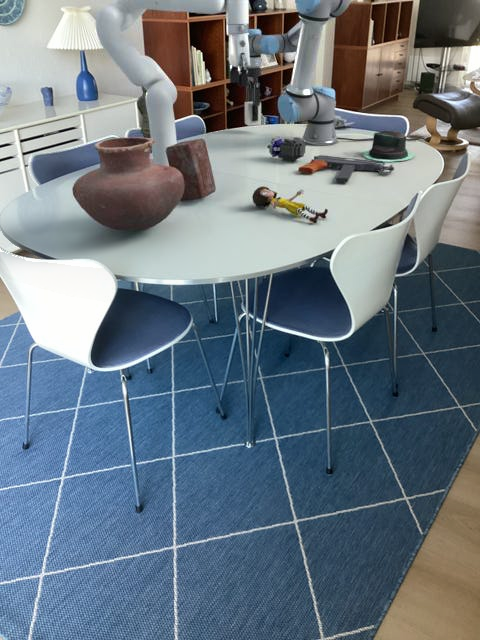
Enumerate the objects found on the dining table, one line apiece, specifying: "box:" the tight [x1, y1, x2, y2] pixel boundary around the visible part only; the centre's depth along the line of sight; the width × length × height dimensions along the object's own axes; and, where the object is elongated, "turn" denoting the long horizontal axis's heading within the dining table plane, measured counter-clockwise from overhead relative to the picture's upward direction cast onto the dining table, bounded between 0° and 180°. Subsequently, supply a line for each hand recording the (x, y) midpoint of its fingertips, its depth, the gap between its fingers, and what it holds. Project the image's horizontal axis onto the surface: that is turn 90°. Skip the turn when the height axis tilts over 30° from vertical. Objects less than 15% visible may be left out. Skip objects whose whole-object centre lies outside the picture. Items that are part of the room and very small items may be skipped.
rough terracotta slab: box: [166, 138, 217, 202], centre depth 188 cm, size 17×10×40 cm
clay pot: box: [72, 136, 185, 232], centre depth 155 cm, size 30×30×25 cm
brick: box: [244, 101, 262, 127], centre depth 266 cm, size 5×6×10 cm
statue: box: [136, 86, 152, 152], centre depth 237 cm, size 11×9×30 cm
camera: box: [334, 100, 355, 128], centre depth 275 cm, size 9×12×15 cm
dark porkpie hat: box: [362, 130, 414, 163], centre depth 226 cm, size 15×19×20 cm
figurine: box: [251, 185, 329, 224], centre depth 169 cm, size 13×8×25 cm
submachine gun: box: [298, 154, 395, 183], centre depth 205 cm, size 32×3×25 cm
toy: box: [266, 135, 306, 163], centre depth 223 cm, size 9×9×15 cm
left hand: (238, 84), depth 196 cm, fingers open, 9 cm apart
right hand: (253, 119), depth 267 cm, fingers closed on brick, 5 cm apart
